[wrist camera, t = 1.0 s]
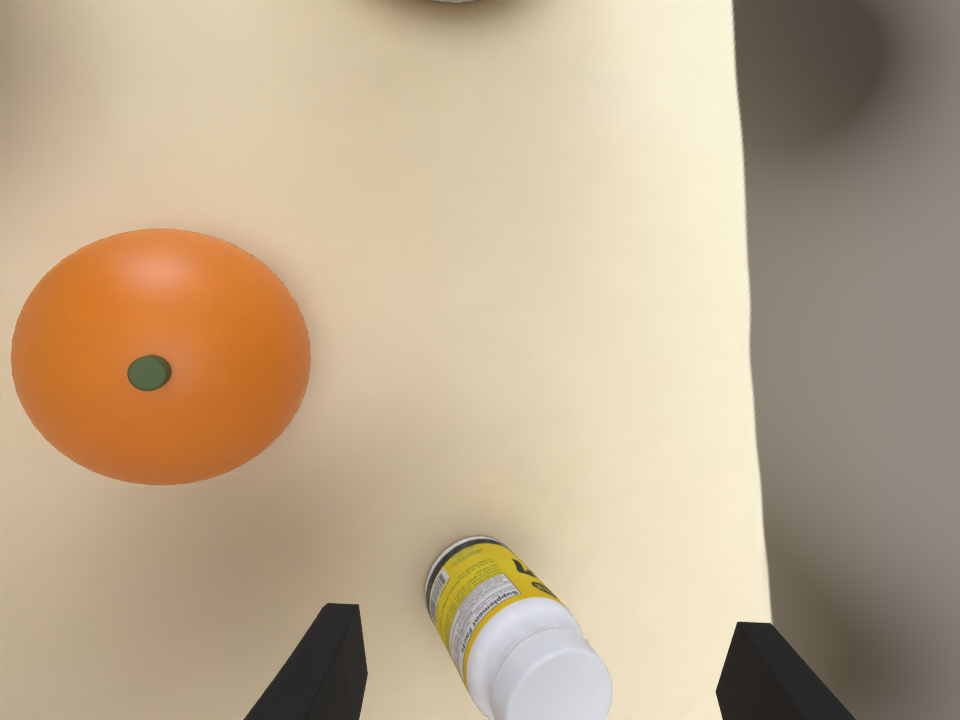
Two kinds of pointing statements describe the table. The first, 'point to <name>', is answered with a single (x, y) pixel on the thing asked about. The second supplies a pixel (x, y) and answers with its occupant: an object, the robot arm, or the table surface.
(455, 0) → the flag stand
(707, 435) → the table surface
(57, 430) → the orange
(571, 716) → the supplement bottle
